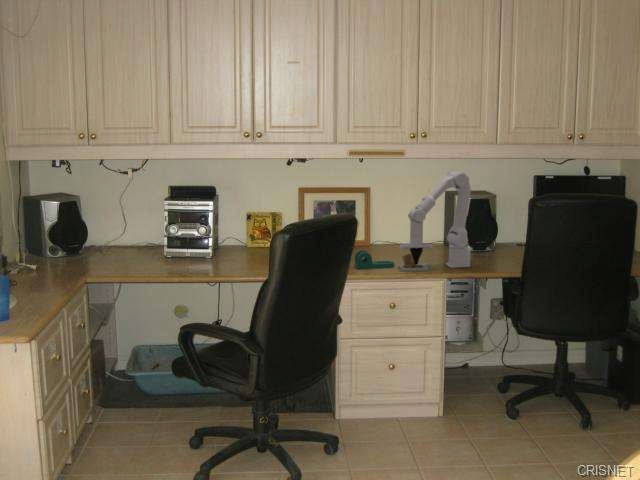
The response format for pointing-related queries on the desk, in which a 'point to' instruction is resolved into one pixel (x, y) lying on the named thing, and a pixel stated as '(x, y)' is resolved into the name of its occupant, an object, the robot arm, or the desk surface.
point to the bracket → (370, 261)
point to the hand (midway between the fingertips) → (415, 264)
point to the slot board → (420, 268)
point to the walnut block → (409, 261)
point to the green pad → (425, 264)
